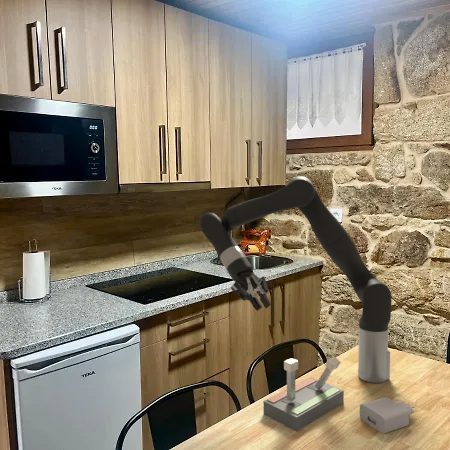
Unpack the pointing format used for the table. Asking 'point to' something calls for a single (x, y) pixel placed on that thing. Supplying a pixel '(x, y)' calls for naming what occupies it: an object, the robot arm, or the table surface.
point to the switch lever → (291, 377)
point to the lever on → (327, 371)
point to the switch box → (303, 404)
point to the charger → (386, 414)
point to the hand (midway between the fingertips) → (264, 307)
